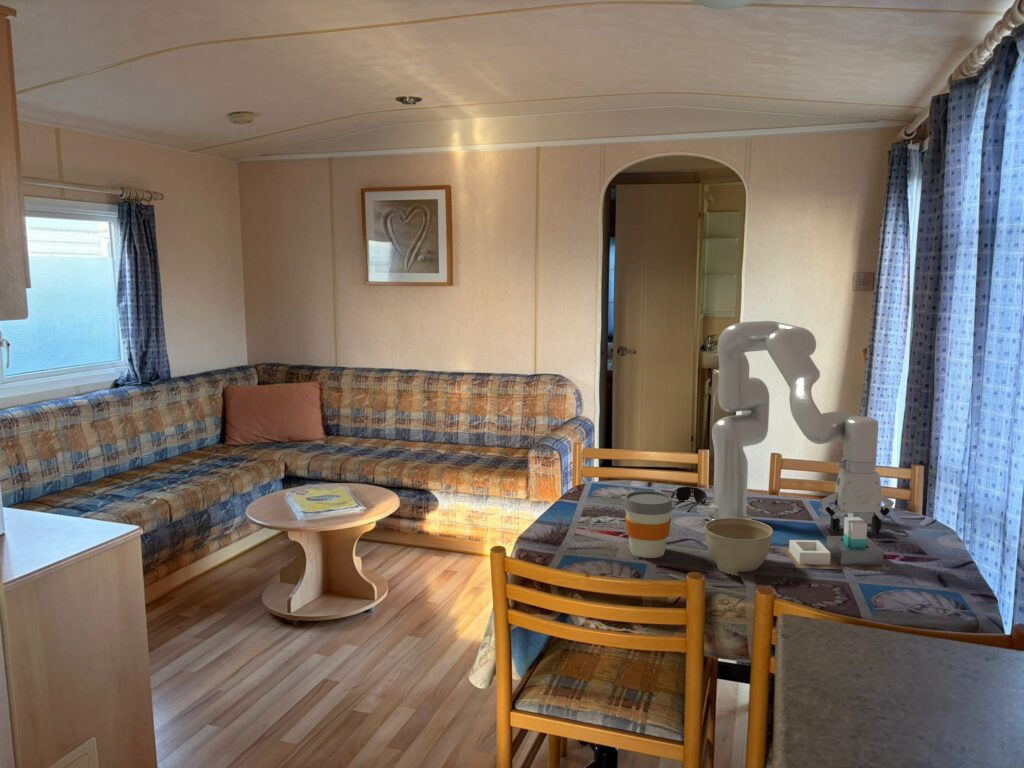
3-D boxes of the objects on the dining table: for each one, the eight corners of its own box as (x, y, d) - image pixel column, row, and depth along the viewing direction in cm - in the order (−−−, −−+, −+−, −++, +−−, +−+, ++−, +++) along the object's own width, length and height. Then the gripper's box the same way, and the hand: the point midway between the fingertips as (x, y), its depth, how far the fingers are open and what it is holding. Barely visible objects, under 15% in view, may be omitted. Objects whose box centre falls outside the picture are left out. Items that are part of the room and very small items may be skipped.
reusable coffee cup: (635, 562, 190) (636, 506, 188) (616, 546, 202) (616, 492, 200) (680, 557, 193) (681, 502, 191) (658, 541, 205) (659, 488, 203)
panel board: (796, 573, 182) (797, 567, 182) (780, 552, 196) (781, 547, 195) (889, 575, 180) (890, 569, 180) (866, 554, 194) (867, 548, 194)
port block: (840, 566, 183) (841, 550, 182) (826, 550, 193) (827, 535, 192) (882, 566, 182) (883, 551, 181) (866, 551, 192) (866, 536, 191)
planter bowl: (719, 552, 196) (720, 513, 195) (780, 567, 186) (782, 525, 184) (692, 571, 184) (693, 529, 182) (756, 588, 174) (757, 544, 172)
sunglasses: (708, 503, 239) (708, 489, 237) (695, 518, 229) (694, 503, 228) (677, 498, 244) (677, 484, 243) (663, 512, 235) (662, 498, 234)
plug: (850, 562, 185) (852, 523, 183) (842, 554, 190) (844, 517, 188) (864, 562, 185) (867, 523, 183) (856, 554, 190) (859, 517, 188)
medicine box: (874, 520, 221) (876, 492, 219) (880, 525, 216) (882, 496, 215) (847, 519, 221) (848, 491, 220) (852, 524, 217) (854, 496, 216)
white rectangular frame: (799, 563, 184) (799, 552, 184) (789, 551, 193) (789, 539, 192) (829, 564, 184) (830, 553, 183) (818, 551, 192) (818, 540, 192)
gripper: (828, 470, 181) (824, 537, 183) (901, 470, 179) (897, 538, 182) (818, 462, 188) (815, 527, 191) (888, 463, 187) (884, 528, 189)
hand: (855, 532), depth 186 cm, fingers open, 9 cm apart
